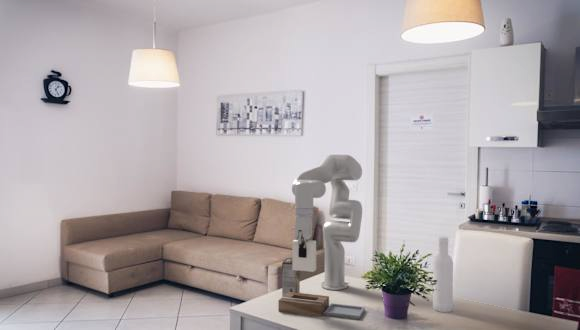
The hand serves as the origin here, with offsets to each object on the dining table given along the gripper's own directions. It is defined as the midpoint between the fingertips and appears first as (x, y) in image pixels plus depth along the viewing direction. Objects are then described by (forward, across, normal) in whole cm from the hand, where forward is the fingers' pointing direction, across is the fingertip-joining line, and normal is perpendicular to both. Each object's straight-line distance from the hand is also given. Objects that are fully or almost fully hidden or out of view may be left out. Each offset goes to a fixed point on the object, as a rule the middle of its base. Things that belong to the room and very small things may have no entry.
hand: (304, 255), depth 197 cm
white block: (+6, 0, 0) cm, 6 cm away
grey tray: (+22, -1, +17) cm, 28 cm away
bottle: (+23, -19, +54) cm, 61 cm away
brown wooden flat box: (+22, 0, 0) cm, 22 cm away
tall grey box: (+23, -15, -11) cm, 29 cm away
